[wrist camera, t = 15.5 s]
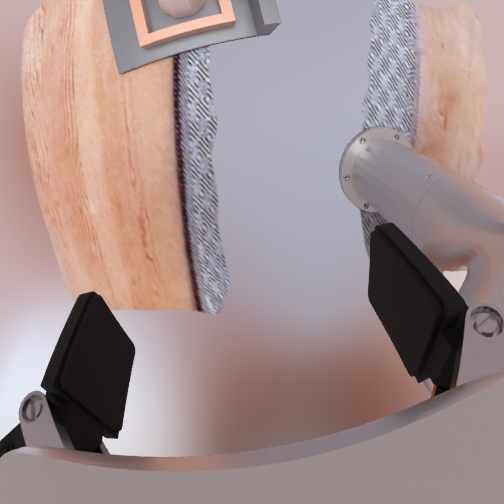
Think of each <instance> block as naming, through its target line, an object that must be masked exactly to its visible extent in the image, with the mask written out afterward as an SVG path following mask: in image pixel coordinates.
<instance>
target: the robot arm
mask: <svg viewBox="0 0 504 504" xmlns="http://www.w3.org/2000/svg"><path fill="white" fill-rule="evenodd" d="M360 139H361V141H360ZM345 175H346V177H344V176H345ZM339 179H340V184H341V187H342V189H343V192H344V193H345V195H346V196H347V198H348V199H349V200H350V201H351V202H352V203H353V204H354V205H355V206H357V207H358V208H359V209H362V210H364V211H368V212H378V213H379V214H380V215H381V216H382V217H383V218H384V219H385V220H386V221H387V222H388V223H387V224H382V225H378V226H376V227H375V231H372V232H371V240H370V268H369V285H368V297H369V300H370V303H371V305H372V306H373V308H374V310H375V312H376V314H377V315H378V317H379V319H380V321H381V322H382V324H383V326H384V328H385V330H386V331H387V333H388V335H389V337H390V339H391V341H392V342H393V344H394V346H395V348H396V350H397V352H398V354H399V356H400V358H401V359H402V361H403V363H404V365H405V367H406V369H407V371H408V373H409V375H410V376H412V377H413V376H415V378H416V379H417V382H418V383H420V382H422V381H423V382H424V384H425V386H426V388H427V389H428V391H429V392H430V393H431V398H430V399H428V400H426V401H424V402H421V403H419V404H417V405H414V406H412V407H410V408H407V409H405V410H402V411H400V412H397V413H395V414H392V415H389V416H386V417H384V418H381V419H378V420H375V421H373V422H370V423H367V424H364V425H361V426H358V427H355V428H352V429H349V430H345V431H341V432H338V433H334V434H331V435H327V436H323V437H320V438H316V439H312V440H307V441H303V442H298V443H294V444H289V445H284V446H279V447H273V448H267V449H261V450H254V451H248V452H240V453H231V454H221V455H208V456H189V457H140V456H122V455H111V454H110V453H109V452H108V450H107V448H106V446H105V445H104V443H103V441H102V437H103V436H104V437H105V438H114V439H115V438H116V439H118V434H119V431H120V430H121V429H122V425H123V418H124V411H125V405H126V398H127V393H128V387H129V382H130V376H131V371H132V365H133V360H134V356H135V347H134V344H133V342H132V341H131V340H130V338H129V337H128V336H127V334H126V333H125V331H124V330H123V328H122V327H121V326H120V324H119V323H118V321H117V320H116V318H115V317H114V315H113V314H112V312H111V310H110V309H109V307H108V306H107V304H106V303H105V301H104V300H103V298H102V297H101V296H100V295H98V294H97V293H95V292H89V293H84V294H81V295H79V297H78V298H77V300H76V302H75V305H74V307H73V309H72V311H71V313H70V315H69V317H68V319H67V322H66V324H65V326H64V328H63V330H62V333H61V335H60V337H59V340H58V342H57V345H56V347H55V349H54V352H53V354H52V357H51V359H50V362H49V364H48V367H47V369H46V372H45V375H44V378H43V381H42V383H41V387H42V388H43V389H45V390H46V391H47V392H46V395H44V394H43V393H42V392H40V391H33V392H31V393H29V394H28V395H27V396H26V397H25V398H24V400H23V401H22V403H21V405H20V408H19V420H20V423H19V424H18V425H17V426H16V427H15V428H14V429H13V430H12V431H11V432H10V433H9V434H7V435H6V436H5V437H4V438H3V439H2V440H1V441H0V504H504V198H502V197H500V196H498V195H496V194H494V193H493V192H491V191H489V190H488V189H486V188H484V187H482V186H480V185H478V184H477V183H475V182H474V181H472V180H470V179H468V178H467V177H465V176H463V175H461V174H460V173H458V172H456V171H454V170H452V169H451V168H449V167H447V166H445V165H443V164H441V163H439V162H437V161H435V158H434V157H433V156H428V157H427V156H425V155H423V154H421V153H419V152H417V151H415V150H414V149H413V147H412V145H411V143H410V142H409V141H408V140H407V138H406V137H405V136H403V135H402V134H401V133H400V132H398V131H396V130H394V129H391V128H388V127H372V128H369V129H366V130H364V131H362V132H360V133H359V134H357V135H356V136H355V137H354V138H353V139H352V140H351V141H350V143H349V144H348V145H347V147H346V148H345V150H344V152H343V155H342V158H341V161H340V167H339ZM437 268H438V269H440V270H445V271H465V270H467V275H466V278H465V280H464V282H463V284H462V286H461V288H460V290H459V292H457V291H456V289H455V288H454V287H453V286H452V285H451V284H450V282H449V281H448V280H447V279H446V278H445V277H444V276H443V274H442V273H441V272H440V271H439V270H438V269H437Z"/></svg>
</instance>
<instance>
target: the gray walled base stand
mask: <svg viewBox="0 0 504 504" xmlns="http://www.w3.org/2000/svg"><path fill="white" fill-rule="evenodd" d="M205 1H206V2H205V4H204V5H203V6H202V7H201V8H200V9H199V10H198V11H197V12H196V14H195V15H191V16H186V17H182V18H177V19H176V18H174V17H172V16H170V15H168V14H166V13H164V12H162V10H161V7H160V4H159V1H158V0H103V4H104V9H105V14H106V19H107V24H108V29H109V33H110V38H111V42H112V47H113V51H114V55H115V59H116V63H117V67H118V71H119V74H123V73H126V72H128V71H131V70H133V69H136V68H138V67H141V66H144V65H147V64H149V63H152V62H155V61H158V60H161V59H164V58H167V57H170V56H173V55H177V54H180V53H184V52H187V51H191V50H194V49H198V48H202V47H206V46H210V45H215V44H219V43H224V42H228V41H233V40H239V39H244V38H250V37H256V36H263V35H270V34H271V33H272V31H273V30H274V29H275V28H276V27H277V26H278V25H279V24H280V23H281V20H280V16H279V12H278V8H277V4H276V1H275V0H205Z"/></svg>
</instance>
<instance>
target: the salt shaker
mask: <svg viewBox="0 0 504 504" xmlns="http://www.w3.org/2000/svg"><path fill="white" fill-rule="evenodd" d="M158 1H159V4H160V7H161V10H162V12H164V13H166V14H168V15H170V16H172V17H174V18H176V19H177V18H182V17H186V16H191V15H195V14H196V12H197V11H198V10H199V9H200V8H201V7H202V6H203V5H204V4H205V2H206V1H205V0H158Z"/></svg>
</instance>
